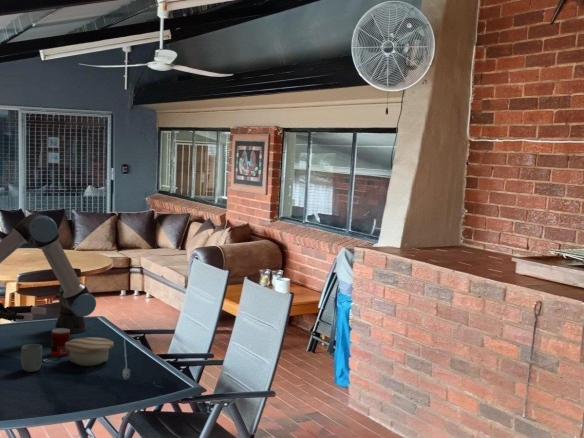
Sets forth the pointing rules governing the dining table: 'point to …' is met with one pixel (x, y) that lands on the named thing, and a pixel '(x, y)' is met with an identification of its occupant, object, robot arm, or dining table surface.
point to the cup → (31, 357)
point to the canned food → (59, 342)
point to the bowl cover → (89, 345)
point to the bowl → (88, 358)
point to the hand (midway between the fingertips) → (38, 314)
